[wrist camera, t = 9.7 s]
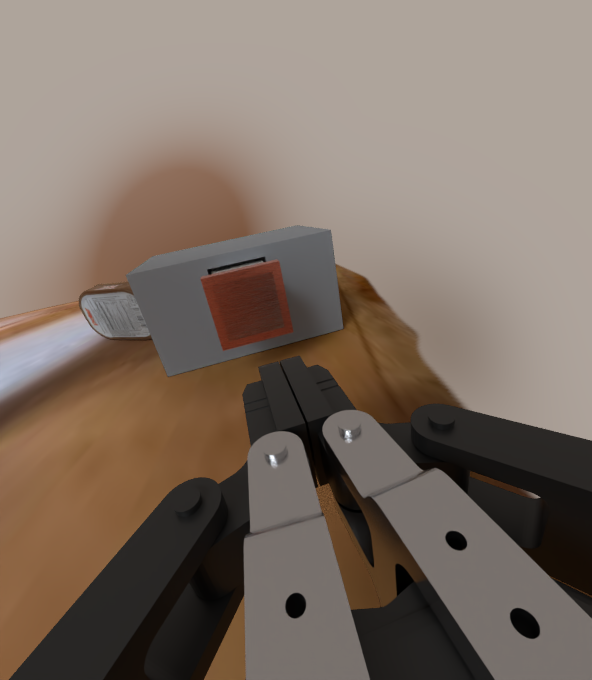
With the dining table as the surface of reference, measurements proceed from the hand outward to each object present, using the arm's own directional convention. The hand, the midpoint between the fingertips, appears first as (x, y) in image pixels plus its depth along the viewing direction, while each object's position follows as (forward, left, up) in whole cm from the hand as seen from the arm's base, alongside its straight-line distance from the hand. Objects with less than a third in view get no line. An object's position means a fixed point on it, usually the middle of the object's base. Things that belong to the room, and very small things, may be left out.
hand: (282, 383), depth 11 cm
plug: (-12, +21, -5) cm, 24 cm away
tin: (-34, +25, -9) cm, 43 cm away
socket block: (-14, +25, -9) cm, 30 cm away
